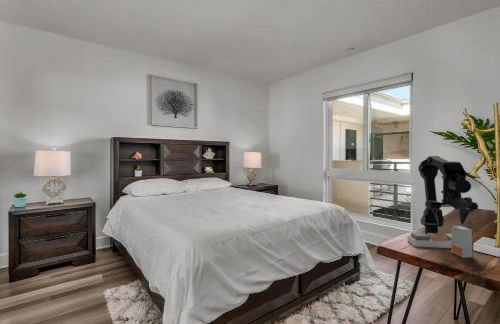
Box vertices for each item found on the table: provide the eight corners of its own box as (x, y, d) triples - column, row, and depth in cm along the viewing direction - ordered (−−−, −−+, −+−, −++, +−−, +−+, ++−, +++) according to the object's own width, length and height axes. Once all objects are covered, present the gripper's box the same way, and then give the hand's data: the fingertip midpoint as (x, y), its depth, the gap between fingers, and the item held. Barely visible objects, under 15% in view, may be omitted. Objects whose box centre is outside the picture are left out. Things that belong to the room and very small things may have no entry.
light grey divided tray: (407, 240, 131) (407, 235, 131) (458, 243, 127) (458, 237, 127) (414, 246, 123) (414, 240, 123) (469, 248, 119) (469, 242, 119)
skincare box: (450, 252, 115) (450, 225, 114) (459, 252, 115) (459, 225, 115) (463, 257, 109) (463, 229, 108) (472, 257, 109) (472, 229, 109)
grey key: (410, 237, 130) (410, 232, 130) (424, 237, 129) (424, 232, 129) (416, 241, 124) (416, 235, 124) (430, 241, 123) (430, 236, 123)
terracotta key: (427, 237, 128) (427, 232, 128) (440, 238, 127) (440, 233, 127) (433, 241, 122) (433, 236, 122) (447, 242, 121) (447, 237, 121)
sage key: (443, 238, 127) (443, 233, 127) (457, 239, 126) (457, 233, 126) (450, 242, 121) (450, 237, 121) (465, 243, 120) (465, 237, 120)
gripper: (437, 192, 110) (437, 228, 111) (487, 192, 107) (487, 229, 107) (424, 188, 121) (424, 221, 121) (469, 188, 117) (469, 222, 118)
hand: (450, 223), depth 117 cm, fingers open, 9 cm apart
